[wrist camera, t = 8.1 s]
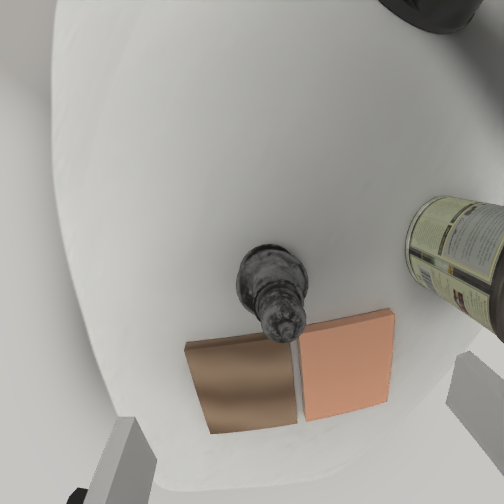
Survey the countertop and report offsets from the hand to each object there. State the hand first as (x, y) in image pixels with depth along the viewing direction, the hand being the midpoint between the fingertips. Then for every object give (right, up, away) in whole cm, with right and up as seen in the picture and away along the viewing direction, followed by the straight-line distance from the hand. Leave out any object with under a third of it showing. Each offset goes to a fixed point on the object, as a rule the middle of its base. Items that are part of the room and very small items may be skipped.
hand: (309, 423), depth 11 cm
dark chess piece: (-1, +5, +18) cm, 19 cm away
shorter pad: (-3, -8, +21) cm, 23 cm away
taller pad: (+8, -6, +21) cm, 23 cm away
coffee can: (+18, +8, +19) cm, 27 cm away
